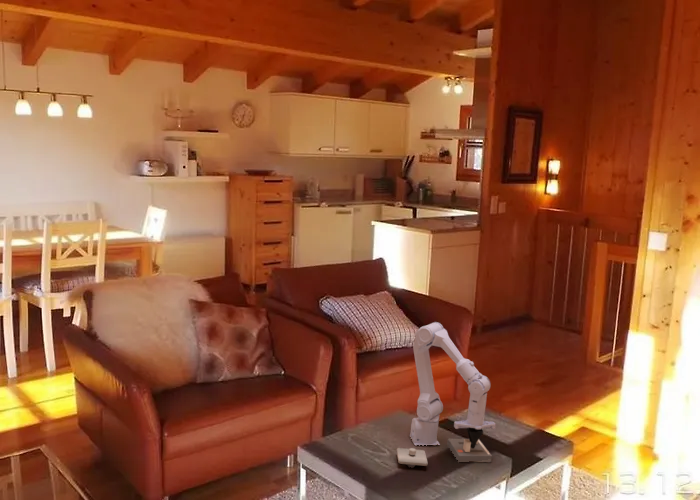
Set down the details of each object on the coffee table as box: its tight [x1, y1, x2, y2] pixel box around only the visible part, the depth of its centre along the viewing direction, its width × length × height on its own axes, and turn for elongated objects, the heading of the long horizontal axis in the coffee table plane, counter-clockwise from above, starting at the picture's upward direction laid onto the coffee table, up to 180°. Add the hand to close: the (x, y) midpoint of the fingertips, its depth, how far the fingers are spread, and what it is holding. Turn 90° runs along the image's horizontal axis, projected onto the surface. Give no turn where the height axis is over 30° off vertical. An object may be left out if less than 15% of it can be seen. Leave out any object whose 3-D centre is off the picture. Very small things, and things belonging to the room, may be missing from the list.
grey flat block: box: [446, 438, 493, 463], centre depth 233 cm, size 12×13×2 cm
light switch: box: [396, 447, 428, 469], centre depth 222 cm, size 10×10×5 cm
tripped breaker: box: [463, 438, 471, 452], centre depth 229 cm, size 2×3×4 cm
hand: (472, 447), depth 229 cm, fingers closed
